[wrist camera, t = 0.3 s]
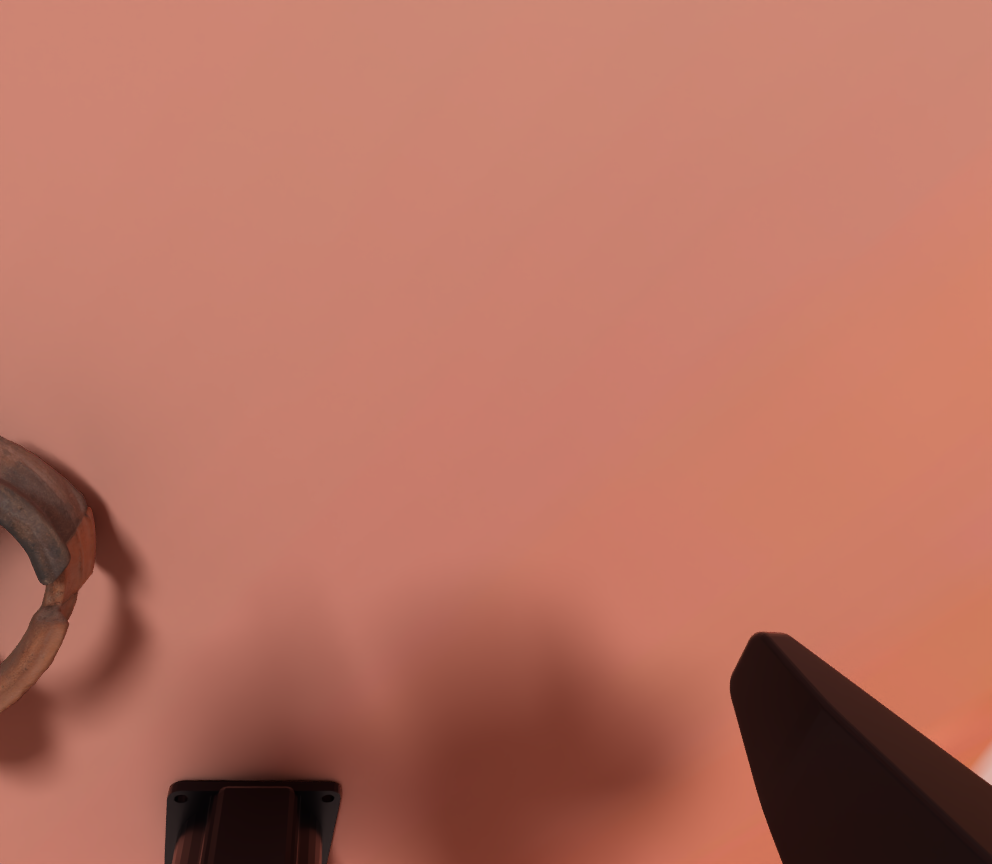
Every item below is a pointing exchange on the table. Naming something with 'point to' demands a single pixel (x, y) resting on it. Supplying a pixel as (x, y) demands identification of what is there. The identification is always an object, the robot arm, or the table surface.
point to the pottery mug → (43, 557)
